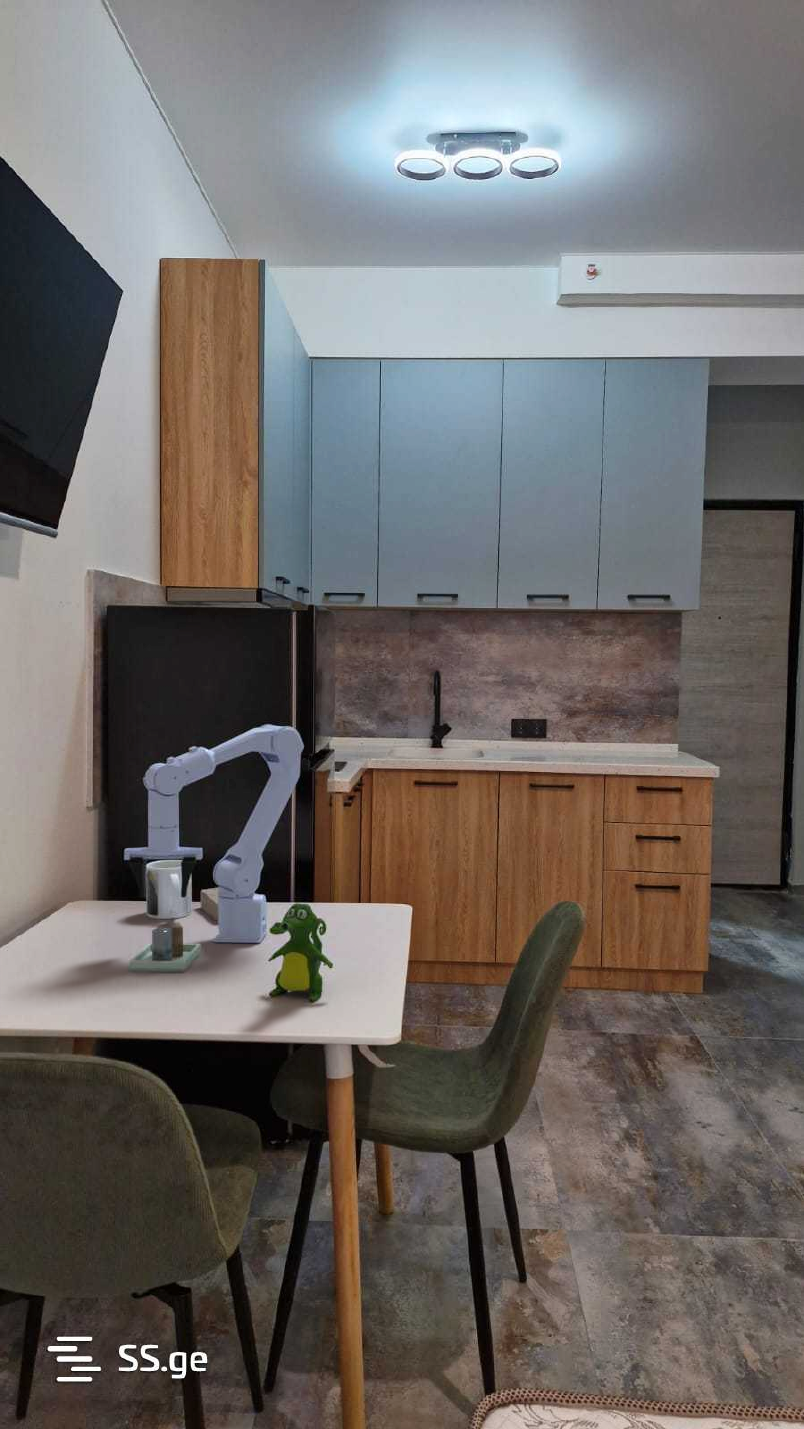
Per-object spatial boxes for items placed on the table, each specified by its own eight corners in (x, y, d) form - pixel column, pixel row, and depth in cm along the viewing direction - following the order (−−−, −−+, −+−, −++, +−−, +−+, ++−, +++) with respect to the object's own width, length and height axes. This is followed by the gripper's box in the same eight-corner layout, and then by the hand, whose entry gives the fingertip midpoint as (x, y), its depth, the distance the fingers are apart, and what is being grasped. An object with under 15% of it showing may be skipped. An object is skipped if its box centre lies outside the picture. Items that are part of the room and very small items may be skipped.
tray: (201, 953, 192) (201, 943, 192) (184, 972, 180) (184, 962, 180) (149, 952, 192) (149, 943, 192) (129, 971, 180) (129, 961, 180)
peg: (171, 959, 186) (171, 927, 185) (173, 964, 182) (173, 932, 182) (151, 960, 185) (151, 928, 184) (152, 966, 181) (152, 933, 181)
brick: (257, 921, 217) (257, 899, 217) (219, 925, 214) (219, 903, 213) (235, 905, 232) (234, 885, 232) (199, 909, 229) (199, 888, 228)
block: (178, 950, 191) (178, 922, 191) (183, 956, 188) (182, 927, 187) (157, 953, 190) (157, 924, 189) (161, 958, 186) (161, 929, 186)
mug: (202, 909, 226) (201, 861, 226) (178, 923, 214) (177, 871, 214) (159, 907, 228) (158, 859, 228) (133, 920, 217) (132, 869, 216)
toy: (242, 1006, 162) (241, 914, 161) (295, 972, 180) (295, 889, 179) (308, 1015, 158) (308, 920, 157) (355, 979, 176) (355, 894, 175)
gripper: (204, 822, 198) (204, 891, 198) (129, 823, 196) (129, 892, 197) (199, 828, 190) (199, 899, 191) (121, 828, 189) (122, 900, 190)
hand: (163, 896), depth 194 cm, fingers open, 7 cm apart
